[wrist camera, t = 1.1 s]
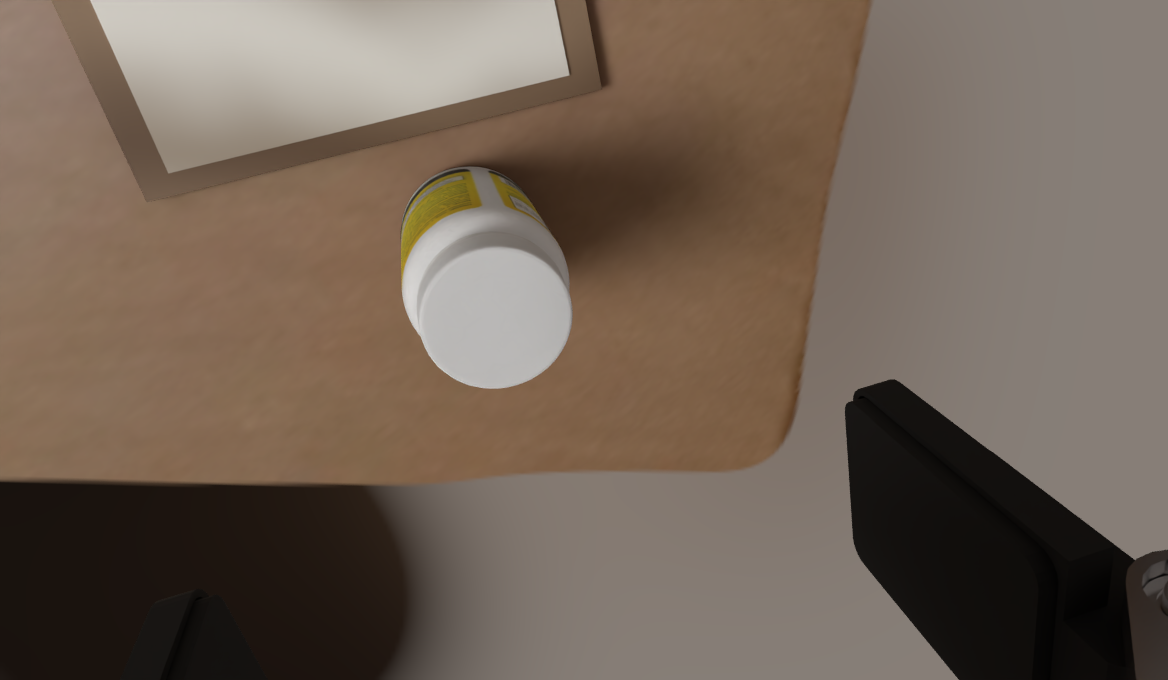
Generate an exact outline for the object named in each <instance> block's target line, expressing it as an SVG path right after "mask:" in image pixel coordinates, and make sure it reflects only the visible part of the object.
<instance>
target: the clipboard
mask: <svg viewBox="0 0 1168 680" xmlns="http://www.w3.org/2000/svg"><path fill="white" fill-rule="evenodd" d="M51 1H52V3H53V5H54V7H55V9H56V11H57V13H58V16H59V18H60V20H61V22H62V24H63V26H64V28H65V30H66V32H67V35H68V37H69V39H70V41H71V43H72V45H73V47H74V49H75V51H76V54H77V56H78V58H79V60H80V62H81V64H82V66H83V68H84V71H85V73H86V75H87V77H88V79H89V81H90V83H91V85H92V87H93V90H94V92H95V94H96V96H97V98H98V100H99V102H100V104H101V106H102V109H103V111H104V113H105V115H106V117H107V119H108V121H109V123H110V126H111V128H112V130H113V132H114V134H115V136H116V138H117V140H118V142H119V145H120V147H121V149H122V151H123V153H124V155H125V157H126V159H127V161H128V164H129V166H130V168H131V170H132V172H133V174H134V176H135V178H136V180H137V183H138V185H139V187H140V189H141V191H142V193H143V195H144V197H145V200H146V202H150V201H155V200H159V199H163V198H167V197H171V196H175V195H179V194H183V193H187V192H191V191H195V190H199V189H203V188H207V187H211V186H215V185H219V184H223V183H227V182H231V181H235V180H239V179H243V178H247V177H251V176H255V175H259V174H263V173H267V172H271V171H276V170H280V169H284V168H288V167H292V166H296V165H300V164H304V163H308V162H312V161H316V160H320V159H324V158H328V157H332V156H336V155H340V154H344V153H348V152H352V151H356V150H360V149H364V148H368V147H372V146H376V145H380V144H384V143H388V142H393V141H397V140H401V139H405V138H409V137H413V136H417V135H421V134H425V133H429V132H433V131H437V130H441V129H445V128H449V127H453V126H457V125H461V124H465V123H469V122H473V121H477V120H481V119H485V118H489V117H493V116H497V115H501V114H505V113H509V112H514V111H518V110H522V109H526V108H530V107H534V106H538V105H542V104H546V103H550V102H554V101H558V100H562V99H566V98H570V97H574V96H578V95H582V94H586V93H590V92H594V91H598V90H602V87H601V82H600V76H599V71H598V66H597V60H596V55H595V50H594V44H593V39H592V34H591V28H590V23H589V17H588V12H587V7H586V1H585V0H51Z"/></svg>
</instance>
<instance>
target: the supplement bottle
mask: <svg viewBox="0 0 1168 680" xmlns="http://www.w3.org/2000/svg"><path fill="white" fill-rule="evenodd" d="M401 270H402V295H403V302H404V306H405V309H406V312H407V314H408V317H409V319H410V321H411V323H412V325H413V327H414V328H415V330H416V331H417V332H418V334H419V335H420V336H421V339H422V341H423V344H424V346H425V349H426V350H427V352H428V354H429V355H430V357H431V359H432V360H433V361H434V362H435V363H436V365H437V366H438V367H439V368H440V369H442V370H443V371H444V372H445V373H446V374H448V375H449V376H451V377H452V378H454V379H456V380H458V381H460V382H462V383H465V384H467V385H471V386H474V387H480V388H506V387H511V386H515V385H518V384H521V383H524V382H526V381H529V380H531V379H532V378H534V377H536V376H537V375H539V374H540V373H542V372H543V371H544V370H546V369H547V368H548V367H549V366H550V365H551V364H552V363H553V362H554V361H555V360H556V358H557V357H558V356H559V354H560V353H561V351H562V350H563V348H564V346H565V344H566V342H567V339H568V337H569V334H570V330H571V325H572V317H573V315H572V303H571V298H570V294H569V273H568V268H567V264H566V260H565V257H564V255H563V252H562V250H561V248H560V246H559V244H558V242H557V241H556V239H555V238H554V237H553V235H552V234H551V232H550V231H549V229H548V228H547V226H546V225H545V223H544V222H543V220H542V218H541V217H540V215H539V214H538V212H537V211H536V209H535V208H534V206H533V205H532V203H531V201H530V200H529V198H528V197H527V196H526V194H525V193H524V192H523V191H522V189H521V188H520V187H519V186H518V185H517V184H516V183H514V182H513V181H512V180H511V179H509V178H508V177H506V176H504V175H502V174H501V173H498V172H496V171H494V170H490V169H487V168H482V167H471V166H468V167H458V168H453V169H449V170H446V171H443V172H440V173H438V174H436V175H434V176H433V177H431V178H430V179H428V180H427V181H426V182H425V183H423V184H422V185H421V186H420V187H419V188H418V189H417V190H416V192H415V193H414V194H413V196H412V197H411V199H410V201H409V203H408V205H407V207H406V209H405V212H404V216H403V220H402V226H401Z"/></svg>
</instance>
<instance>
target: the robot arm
mask: <svg viewBox="0 0 1168 680" xmlns="http://www.w3.org/2000/svg"><path fill="white" fill-rule="evenodd" d="M845 420H846V435H847V451H848V467H849V482H850V498H851V513H852V528H853V540H854V545H855V548H856V551H857V553H858V555H859V557H860V559H861V561H862V562H863V563H864V565H865V566H866V567H867V568H868V570H869V571H870V572H871V573H872V574H873V576H874V577H875V578H876V579H877V581H878V582H879V583H880V584H881V585H882V587H883V588H884V589H885V590H886V592H887V593H888V594H889V595H890V596H891V598H892V599H893V600H894V601H895V603H896V604H897V605H898V606H899V607H900V609H901V610H902V611H903V612H904V613H905V615H906V616H907V617H908V618H909V620H910V621H911V622H912V623H913V624H914V626H915V627H916V628H917V629H918V631H919V632H920V633H921V634H922V635H923V637H924V638H925V639H926V640H927V642H928V643H929V644H930V645H931V646H932V648H933V649H934V650H935V651H936V652H937V653H938V655H939V656H940V657H941V659H942V660H943V661H944V662H945V663H946V665H947V666H948V667H949V668H950V670H952V672H953V673H954V674H955V676H956V677H957V678H958V679H959V680H1168V550H1162V551H1155V552H1151V553H1149V554H1146V555H1144V556H1142V557H1140V558H1137V559H1136V560H1134V559H1133V558H1131V557H1130V556H1129V555H1127V554H1126V553H1125V552H1123V551H1122V550H1121V549H1120V548H1118V547H1117V546H1115V545H1114V544H1113V543H1112V542H1110V541H1109V540H1108V539H1106V538H1105V537H1104V536H1102V535H1101V534H1100V533H1098V532H1097V531H1096V530H1094V529H1093V528H1092V527H1090V526H1089V525H1088V524H1086V523H1085V522H1084V521H1083V520H1081V519H1080V518H1079V517H1077V516H1076V515H1074V514H1073V513H1072V512H1071V511H1069V510H1068V509H1067V508H1066V507H1064V506H1063V505H1062V504H1060V503H1059V502H1058V501H1056V500H1055V499H1054V498H1052V497H1051V496H1050V495H1048V494H1047V493H1046V492H1044V491H1043V490H1042V489H1040V488H1039V487H1038V486H1036V485H1035V484H1034V483H1033V482H1031V481H1030V480H1029V479H1027V478H1026V477H1025V476H1023V475H1022V474H1021V473H1019V472H1018V471H1017V470H1015V469H1014V468H1013V467H1012V466H1010V465H1009V464H1008V463H1006V462H1005V461H1003V460H1002V459H1001V458H1000V457H998V456H997V455H996V454H994V453H993V452H991V451H990V450H988V449H987V448H986V447H984V446H983V445H982V444H980V443H979V442H978V441H976V440H975V439H974V438H972V437H971V436H970V435H968V434H967V433H966V432H964V431H963V430H962V429H961V428H959V427H958V426H957V425H955V424H954V423H953V422H951V421H950V420H949V419H947V418H946V417H945V416H943V415H942V414H941V413H940V412H938V411H937V410H936V409H934V408H933V407H932V406H930V405H929V404H928V403H926V402H925V401H924V400H922V399H921V398H920V397H918V396H917V395H916V394H915V393H913V392H912V391H910V390H909V389H908V388H907V387H905V386H904V385H903V384H901V383H900V382H898V381H896V380H887V381H884V382H881V383H877V384H874V385H871V386H867V387H864V388H861V389H858V390H857V391H855V393H854V396H853V401H851V402H848V403H847V404H846V407H845ZM120 680H268V679H267V678H266V676H265V674H264V672H263V671H262V669H261V667H260V665H259V663H258V661H257V660H256V658H255V656H254V654H253V653H252V651H251V649H250V647H249V645H248V643H247V642H246V640H245V638H244V636H243V635H242V633H241V631H240V629H239V628H238V625H237V624H236V622H235V620H234V618H233V616H232V615H231V613H230V611H229V609H228V607H227V606H226V604H225V602H224V601H223V599H222V598H221V597H220V596H218V595H212V596H208V594H207V593H206V592H205V591H203V590H202V589H196V590H192V591H189V592H186V593H183V594H179V595H176V596H172V597H170V598H166V599H163V600H159V601H157V602H156V603H154V604H153V605H152V607H151V608H150V610H149V613H148V615H147V617H146V620H145V622H144V624H143V627H142V629H141V632H140V634H139V636H138V639H137V641H136V643H135V645H134V648H133V650H132V653H131V655H130V657H129V659H128V662H127V664H126V667H125V669H124V671H123V674H122V676H121V678H120Z"/></svg>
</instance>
